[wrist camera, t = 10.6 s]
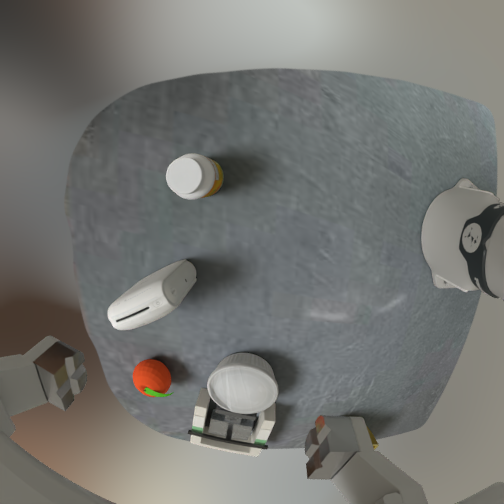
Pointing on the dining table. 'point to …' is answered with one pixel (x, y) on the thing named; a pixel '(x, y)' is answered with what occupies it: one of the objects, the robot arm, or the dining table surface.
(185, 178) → the supplement bottle
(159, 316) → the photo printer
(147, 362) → the red tomato
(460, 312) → the dining table surface
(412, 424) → the dining table surface
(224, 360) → the ramekin
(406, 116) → the dining table surface
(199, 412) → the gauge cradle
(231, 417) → the grey metal pieces
